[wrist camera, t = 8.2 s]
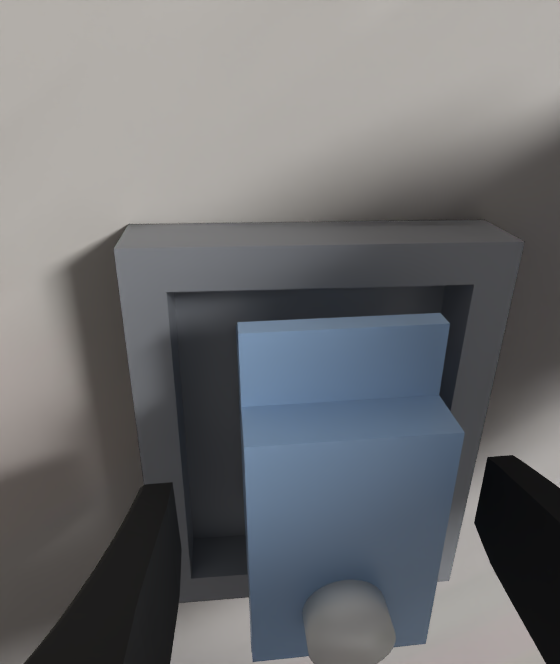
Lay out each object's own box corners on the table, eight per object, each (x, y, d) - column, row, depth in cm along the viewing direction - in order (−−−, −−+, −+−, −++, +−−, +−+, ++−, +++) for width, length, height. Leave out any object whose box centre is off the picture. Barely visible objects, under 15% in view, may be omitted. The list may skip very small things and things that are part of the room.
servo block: (392, 260, 13) (501, 379, 8) (366, 528, 17) (429, 722, 12) (233, 266, 13) (242, 395, 8) (245, 538, 17) (256, 741, 12)
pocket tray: (484, 219, 14) (524, 242, 12) (426, 531, 18) (448, 580, 17) (128, 224, 13) (114, 248, 11) (165, 550, 18) (159, 604, 16)
